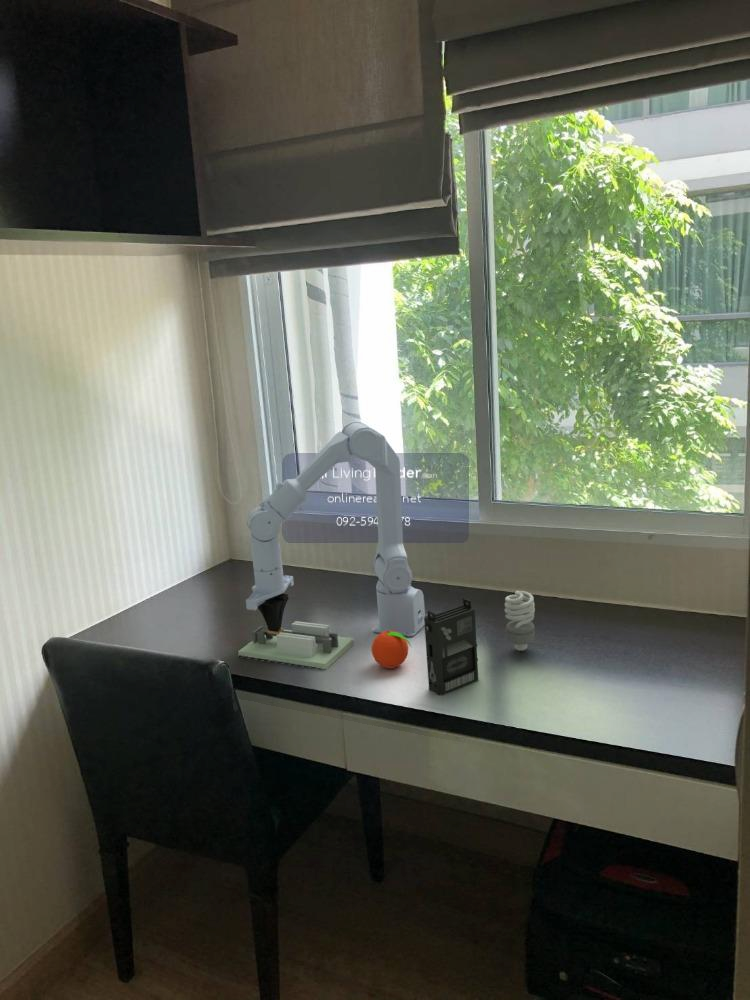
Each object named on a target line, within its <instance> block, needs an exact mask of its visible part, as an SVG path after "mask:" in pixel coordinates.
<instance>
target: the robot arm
mask: <svg viewBox="0 0 750 1000" xmlns="http://www.w3.org/2000/svg"><path fill="white" fill-rule="evenodd" d="M352 455H353V456H354V457H355V458H357V459H359V460H362V461H365V462H367V463H369V464H370V465H371V466H372V467H373V468H374V472H375V473H374V474H375V496H376V512H377V513H376V515H377V516H376V520H377V533H378V534H377V537H378V539H377V541H378V542H377V545H376V547H375V548H376V549H375V553H376V554H375V556H374V559H373V561H372V571H373V573H374V575H375V576H376V577H377V578H378V581H377V583H376V585H375V588H376V589H375V590H376V600H377V601H376V602H377V613H378V623H377V624H376V625H375V626H374V627H373V628H371V631H372V632H373V633H379V634H380V633H382V632H384V631H395V632H398V633H400V634H401V635H403V636H404V637H415V636H416V634H417V633H418V632H419V631H420V630H421V629H422V628H423V627H425V623H424V617H425V616H426V611H425V609H426V608H425V596H424V593H423V591H422V589H418V588H415V587H413V586H412V584H411V583H412V582H413V572H412V569H411V567H410V566H409V562H408V555H407V552H406V549H405V546H404V538H403V537H404V536H403V514H402V513H403V510H402V505H403V504H402V487H401V486H402V483H401V462H400V458H399V456H398V454H397V453H396V451H394V449H393V447H392V446H391V445H390V444H389V442H388V440H387V439H386V436H385V435H383V434H381V433H380V432H379V431H377V430H376V429H374V428H371V427H370V426H368V425H367V424H365V423H363V422H361V421H351V422H349V423H347V424H346V425H345V426H344V427H343V428H342V430H341V431H338V432H337V433H336V434H335V435H333V436H332V438H330V440H329V441H328V442H327V443H326V444H325V446H324V447H323V448H322V449H321V450H320V451H319V452H318V453H317V455H316V456H315V457H314V458H312V460H311V461H310V462H309V463H308V464H307V465H306V467H304V469H303V470H302V471H301V472H300V473H299V474H298V475H297V476H296V477H295V478H288V479H287V478H286V479H285V480H284V481H283V482H281V481H278V482H277V483H276V484H275V487H276V489H275V490H273V492H272V493H271V494H270V495H269V496H268V497H267V498H266V499H265V500H261V501H260V502H259V503H258V507H255V508H253V509H252V510H251V511H250V512H249V514H248V518H247V520H246V526H248V528H249V531H250V542H251V546H250V547H251V549H250V550H251V557H252V566H253V575H254V585H253V586H251V591H252V593H251V595H250V596H249V597H248V598H246V599H245V606H246V610H250V611H256V610H259V612H260V613H261V615H262V616H263V619H264V622H265V624H266V626H267V627H268V629H269V630H270V631H278V630H280V629H281V628H282V623H283V617H284V613H285V609H286V605H287V603H288V601H289V594H287V593H285V591H286V590H287V589H288V587H293V586H294V585H295V584H294V576H293V575H286V574H285V575H284V569H283V559H282V550H281V543H280V542H279V541H280V539H279V533H281V532H280V531H281V526H282V524H283V523H285V522H286V521H287V520H288V519H290V518H291V516H292V515H293V514H294V513H295V512H297V510H298V509H299V508H300V507H301V506H302V505H303V504H304V503H305V502H306V501H307V500H308V490H309V489H310V488H312V487H313V486H314V485H315V484H316V483H317V482H319V480H321V479H322V477H324V476H325V475H326V474H327V473H328V472H329V471H330V470H331V469H332V468H334V466H335V465H337V464H340V463H349V462H352V461H354V459H353V458H352Z"/></svg>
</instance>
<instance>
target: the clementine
mask: <svg viewBox="0 0 750 1000" xmlns="http://www.w3.org/2000/svg"><path fill="white" fill-rule="evenodd" d="M408 644H409V645H408ZM409 646H410V647H411V648H412V645H411V643H410V640H408V638H407V637H406V636H403V635H401V634H400V633H398V632H395V631H384V632H382V633H379V634H378V635H376V637H375V638H374V640H373V642H372V645H371V654H372V657H373V659H374V661H375V662H376V663H377V664H378V665H379V666H381V667H383V668H385V669H386V668H387V669H394V668H397V667H400V666H401V665H402V664H403V663H404V662H405V661H406V659H407V657H408V655H409Z"/></svg>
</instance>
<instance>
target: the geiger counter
mask: <svg viewBox="0 0 750 1000" xmlns="http://www.w3.org/2000/svg"><path fill="white" fill-rule="evenodd" d="M462 601H463V602H462V603H460V604H458V606H455V607H452V608H450V609H446V610H443V611H441V612H438V613H435V612H433V611H431V610H426V611H427V613H426V614H427V615H425V617H424V623H425V625H424V633H425V634H424V636H425V638H424V639H425V650H426V663H427V664H426V665H427V679H428V690H429V691H430V692H432V693H433V694H435V695H437V696H444V695H447V694H450V693H452V692H454V691H456V690H459V689H461V688H464V687H466V686H468V685H471V684H473V683H475V682H479V667H478V665H479V664H478V661H479V658H478V649H477V648H478V643H477V627H476V623H477V622H476V608H475V607H472V603H471V600H470V599H467V598H465V597H464V598H463V599H462Z"/></svg>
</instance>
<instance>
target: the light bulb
mask: <svg viewBox="0 0 750 1000" xmlns="http://www.w3.org/2000/svg"><path fill="white" fill-rule="evenodd" d="M504 601H505V602H504V607H505V608H504V612H505V618H506V619H508V620H510V621H509V622H508V623H507V624H506V626H505V627H506V628H505V632H506V637H507V638H506V639H507V640H508V642H509V643H511V644H513V647H514V648H515V650H517V651H519V652H523V651H525V650H526V649H528V644H530V643H533V642H534V640H535V634H536V633H535V632H536V631H535V630H536V629H535V625H534V623H533V622H532V621H533V620H534V618H535V611H536V608H535V602H534V601H535V600H534V595H532V594H531V593H530V592H527V591H525V590H516V591H515V592H514V594H510V595H507V596H506V597H505V599H504Z"/></svg>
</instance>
